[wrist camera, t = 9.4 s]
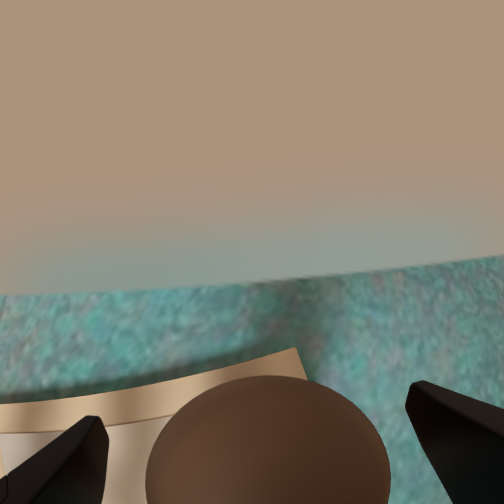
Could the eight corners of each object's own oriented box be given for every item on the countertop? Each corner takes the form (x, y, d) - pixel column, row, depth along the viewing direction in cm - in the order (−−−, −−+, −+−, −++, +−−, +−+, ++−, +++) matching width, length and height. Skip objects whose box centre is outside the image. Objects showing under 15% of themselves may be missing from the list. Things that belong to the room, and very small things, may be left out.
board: (292, 351, 19) (295, 346, 18) (346, 499, 14) (352, 503, 13) (-7, 407, 14) (-16, 404, 14) (26, 541, 9) (17, 543, 9)
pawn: (328, 447, 14) (514, 446, 3) (254, 519, 12) (282, 681, 1) (250, 382, 16) (269, 243, 5) (176, 450, 14) (11, 468, 3)
